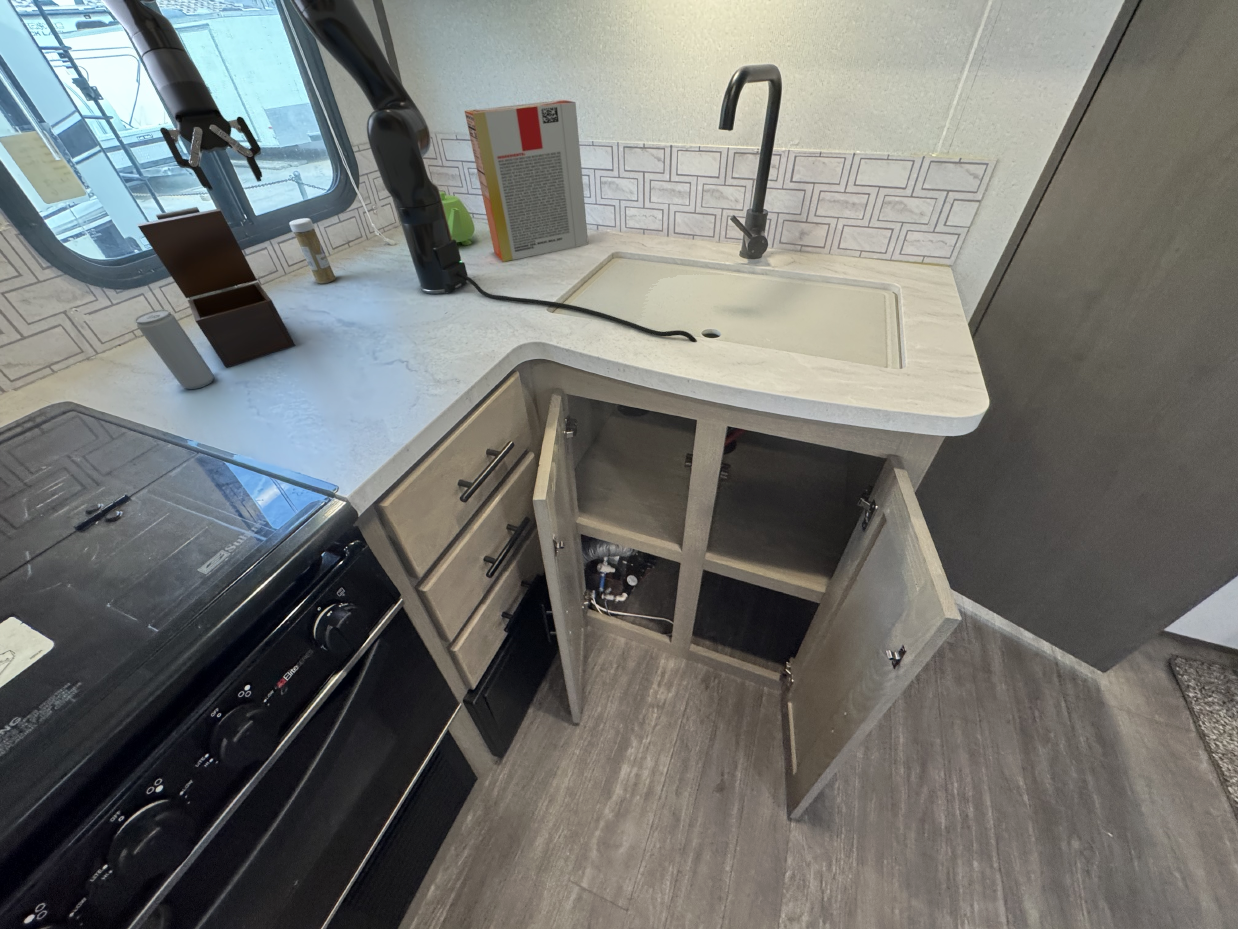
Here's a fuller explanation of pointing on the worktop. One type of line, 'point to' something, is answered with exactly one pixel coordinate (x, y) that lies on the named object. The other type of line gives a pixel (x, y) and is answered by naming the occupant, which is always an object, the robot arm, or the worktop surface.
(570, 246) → the pasta box
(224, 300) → the chest
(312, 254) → the sprinkles bottle
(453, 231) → the teapot
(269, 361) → the worktop surface
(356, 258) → the worktop surface
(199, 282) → the lid
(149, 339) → the beverage can
